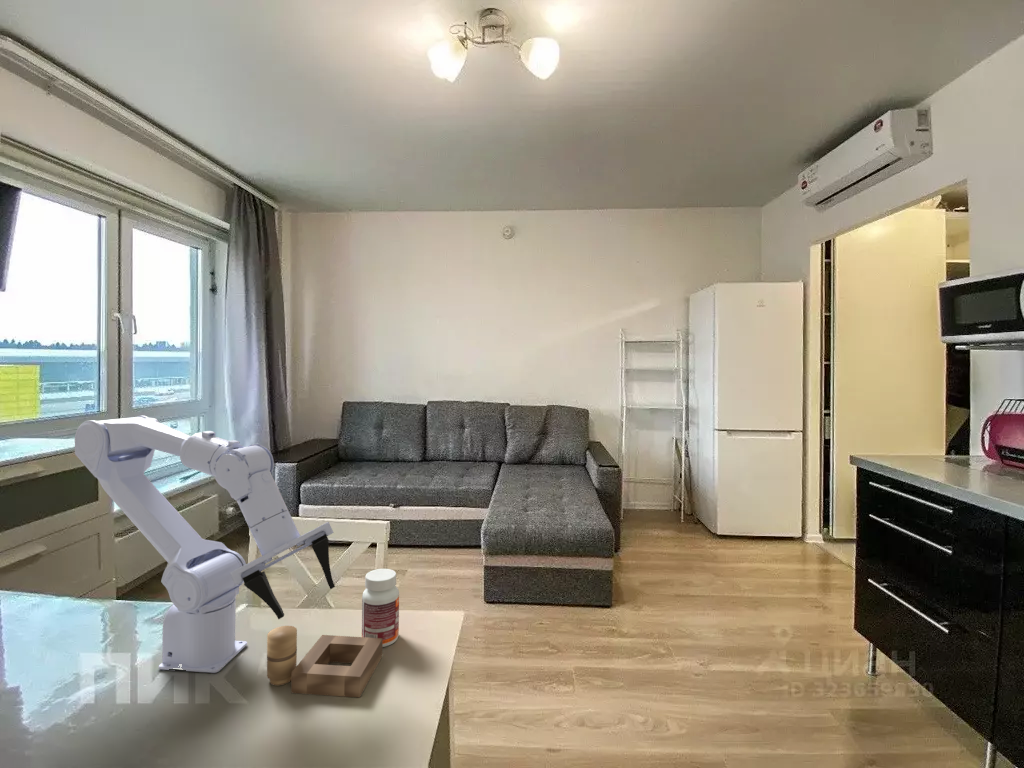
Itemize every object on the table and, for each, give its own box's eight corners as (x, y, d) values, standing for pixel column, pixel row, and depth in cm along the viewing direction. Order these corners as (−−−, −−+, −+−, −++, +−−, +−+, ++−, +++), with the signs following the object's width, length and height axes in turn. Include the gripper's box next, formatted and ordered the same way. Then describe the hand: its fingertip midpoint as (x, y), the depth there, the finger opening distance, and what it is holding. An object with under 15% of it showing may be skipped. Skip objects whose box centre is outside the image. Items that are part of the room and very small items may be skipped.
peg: (261, 686, 72) (261, 639, 72) (275, 669, 76) (276, 624, 76) (288, 688, 72) (288, 640, 72) (301, 671, 76) (302, 626, 76)
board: (291, 693, 71) (291, 672, 71) (322, 652, 81) (322, 634, 81) (359, 697, 70) (360, 676, 70) (382, 656, 80) (382, 638, 80)
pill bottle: (403, 642, 85) (405, 577, 84) (367, 653, 81) (369, 585, 81) (391, 626, 90) (392, 564, 89) (356, 635, 86) (357, 571, 86)
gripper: (213, 545, 69) (254, 636, 67) (316, 494, 75) (355, 576, 74) (222, 544, 75) (259, 627, 74) (316, 498, 81) (352, 573, 80)
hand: (307, 602), depth 74 cm, fingers open, 7 cm apart
